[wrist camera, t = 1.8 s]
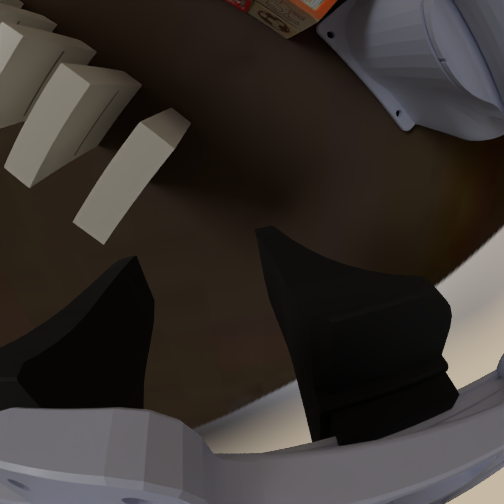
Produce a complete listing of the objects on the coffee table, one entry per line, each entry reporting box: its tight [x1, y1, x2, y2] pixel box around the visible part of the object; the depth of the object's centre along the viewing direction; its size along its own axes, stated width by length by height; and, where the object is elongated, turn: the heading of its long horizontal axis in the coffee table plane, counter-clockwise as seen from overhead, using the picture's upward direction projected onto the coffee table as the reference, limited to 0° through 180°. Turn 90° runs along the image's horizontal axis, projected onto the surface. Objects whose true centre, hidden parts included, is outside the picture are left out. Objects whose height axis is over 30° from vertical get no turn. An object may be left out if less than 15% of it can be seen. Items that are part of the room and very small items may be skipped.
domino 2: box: [4, 63, 142, 188], centre depth 13 cm, size 2×5×9 cm, turn 137°
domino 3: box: [0, 22, 97, 128], centre depth 12 cm, size 2×5×9 cm, turn 137°
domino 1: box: [73, 108, 191, 245], centre depth 15 cm, size 2×5×9 cm, turn 137°
